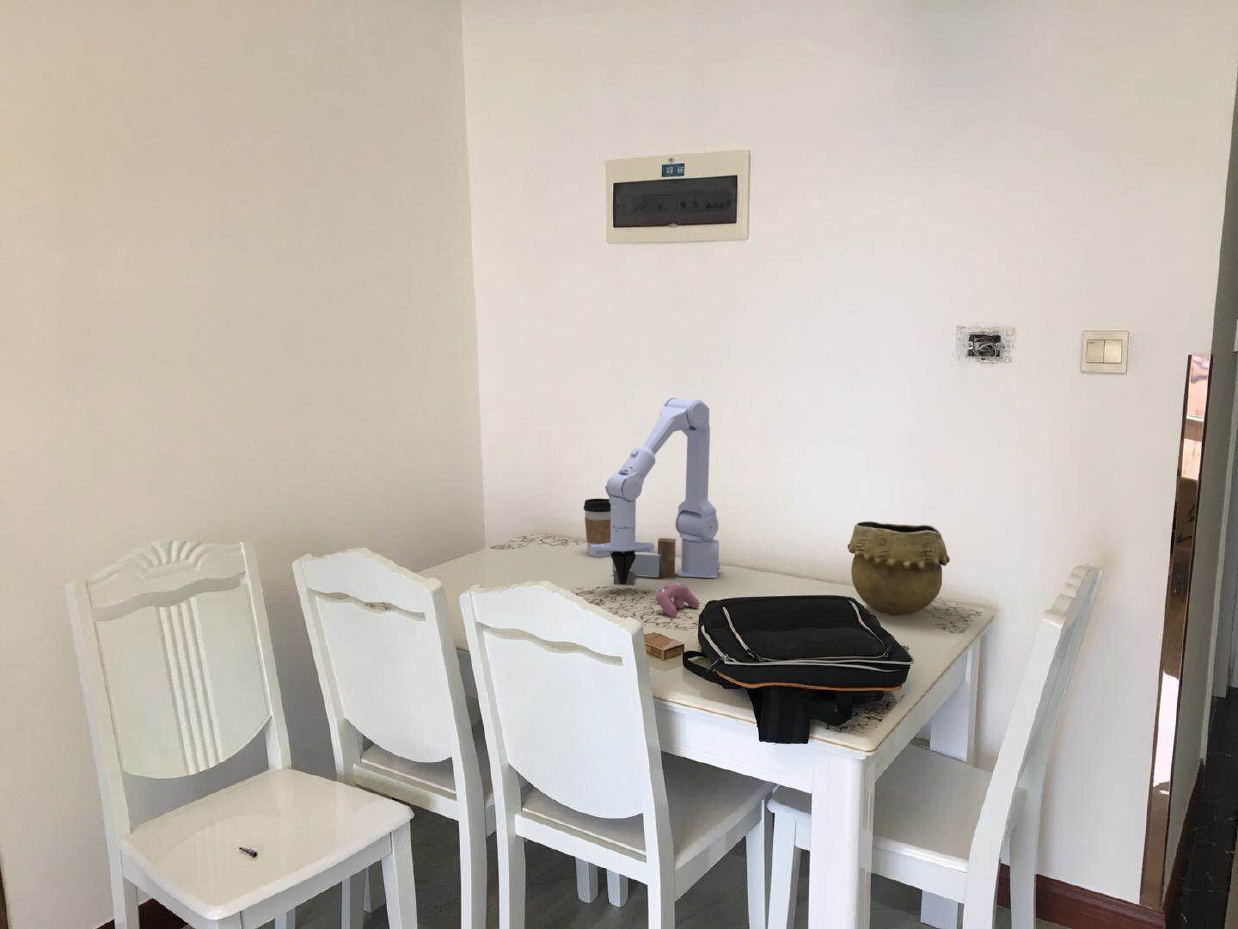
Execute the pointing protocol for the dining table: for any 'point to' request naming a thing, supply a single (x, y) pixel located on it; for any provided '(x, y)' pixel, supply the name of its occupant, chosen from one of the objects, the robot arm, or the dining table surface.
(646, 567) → the door leaf
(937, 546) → the clay pot
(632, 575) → the grey stepped block
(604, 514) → the coffee cup
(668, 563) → the door post
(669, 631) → the dining table surface
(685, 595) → the video game controller
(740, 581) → the dining table surface
